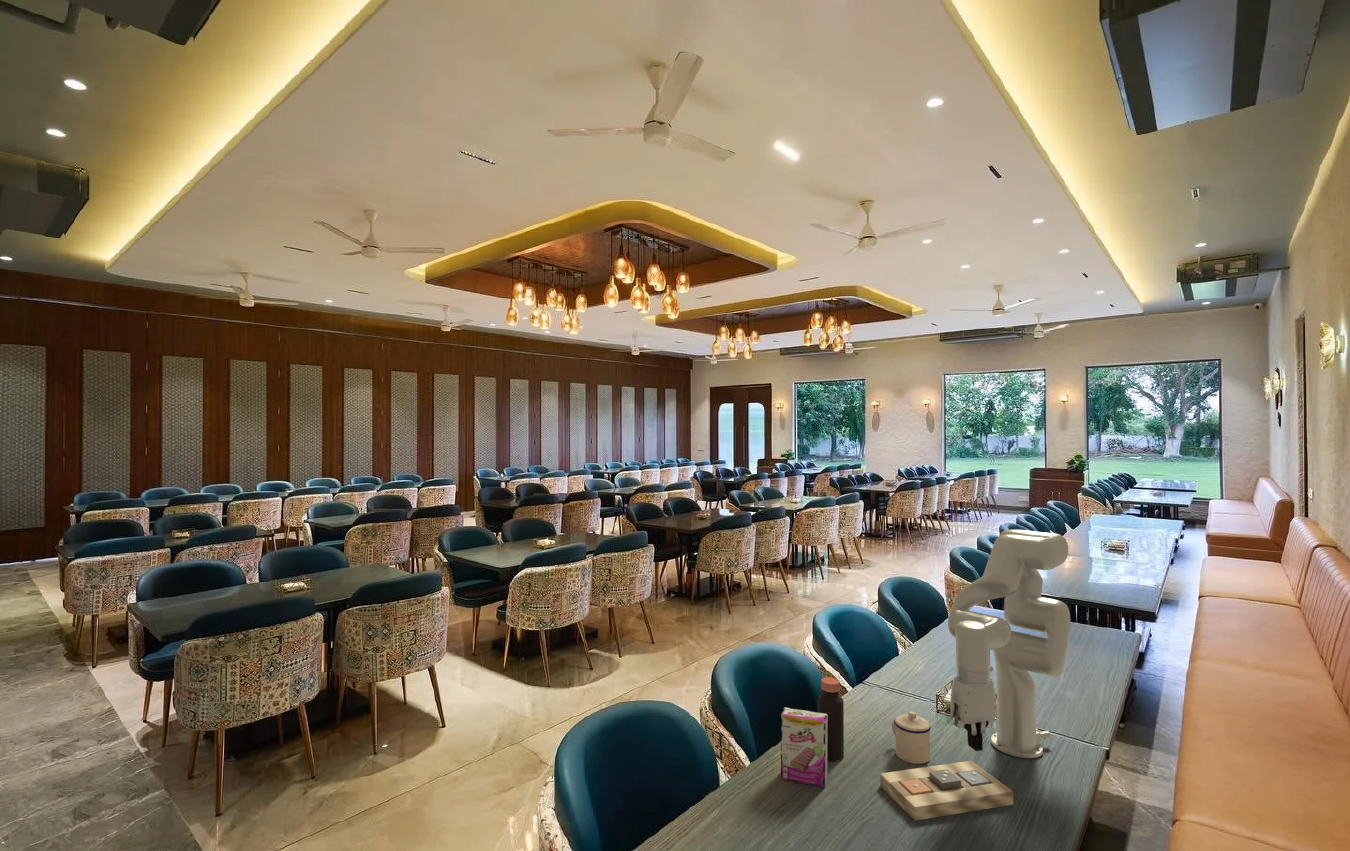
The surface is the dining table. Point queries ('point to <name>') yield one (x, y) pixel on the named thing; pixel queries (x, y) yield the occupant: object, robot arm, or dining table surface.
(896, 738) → the teacup with lid
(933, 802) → the wooden puzzle board
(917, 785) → the key one
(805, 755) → the candy bar box
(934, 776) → the key three
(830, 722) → the bottle
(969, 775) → the key two
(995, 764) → the dining table surface
